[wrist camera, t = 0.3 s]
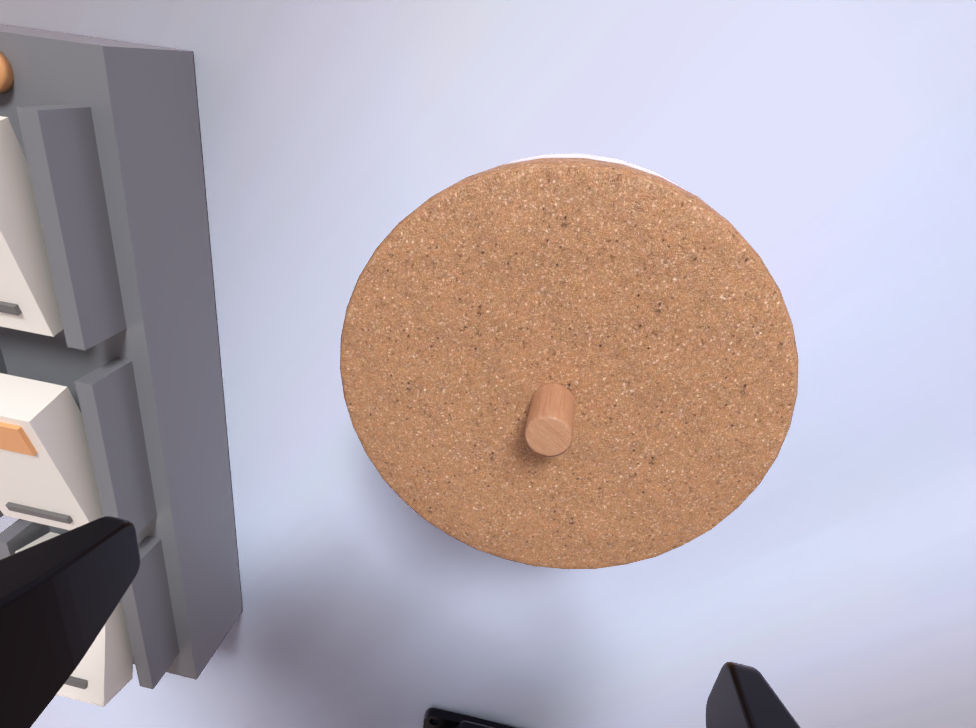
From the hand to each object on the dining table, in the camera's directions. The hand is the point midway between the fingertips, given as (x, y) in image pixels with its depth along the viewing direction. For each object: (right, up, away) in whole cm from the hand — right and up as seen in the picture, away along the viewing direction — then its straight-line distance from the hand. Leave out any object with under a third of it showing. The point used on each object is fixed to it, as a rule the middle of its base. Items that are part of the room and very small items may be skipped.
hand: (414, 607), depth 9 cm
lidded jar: (+4, +6, +12) cm, 14 cm away
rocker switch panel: (-14, +1, +18) cm, 23 cm away
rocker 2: (-15, 0, +12) cm, 19 cm away
